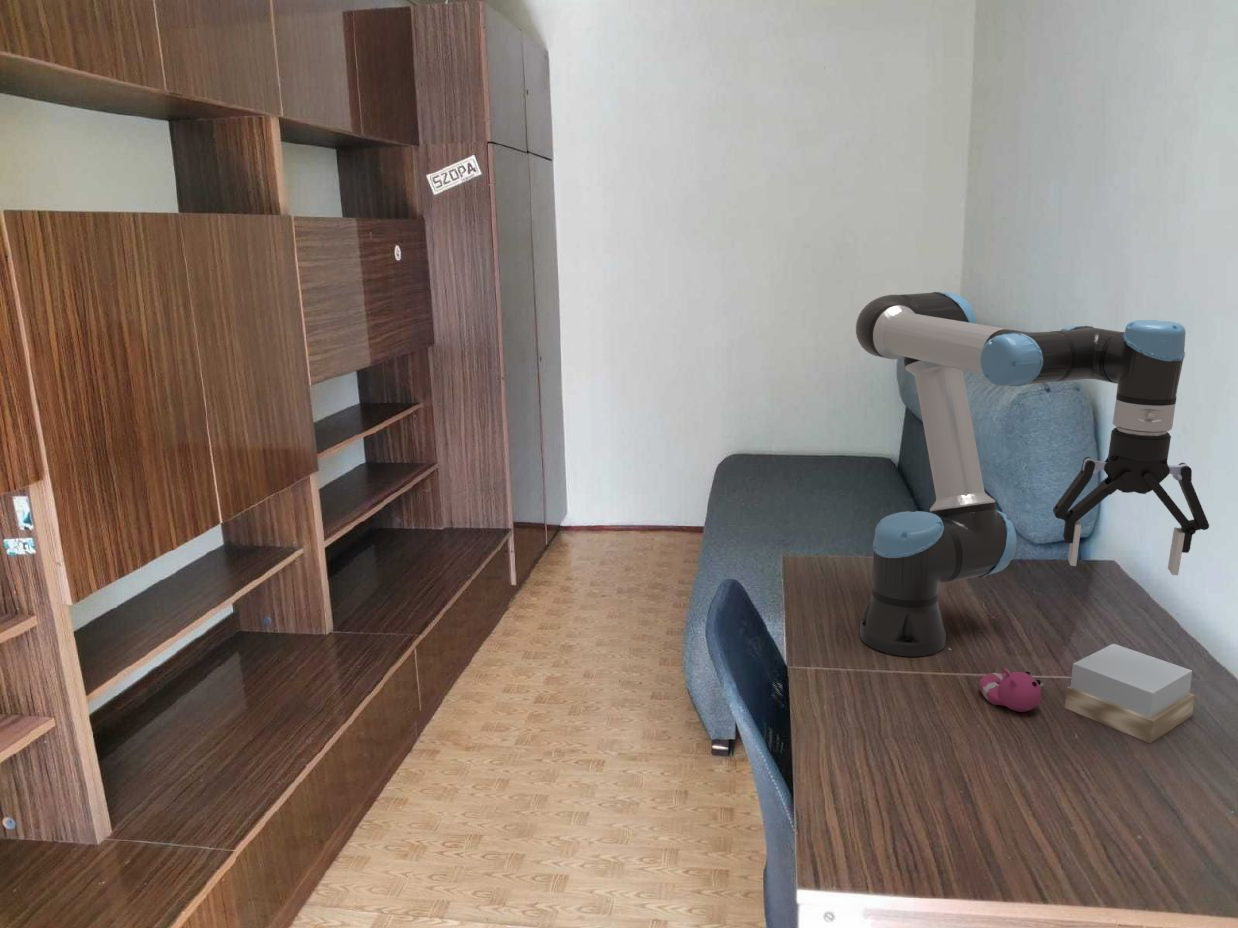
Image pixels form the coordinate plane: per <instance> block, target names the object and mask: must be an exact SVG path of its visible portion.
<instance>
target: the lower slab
mask: <svg viewBox="0 0 1238 928" xmlns="http://www.w3.org/2000/svg"><path fill="white" fill-rule="evenodd" d="M1070 686H1071V684H1070V685H1069V686H1067V687H1066V689H1065V690H1066V691H1065V692H1066V693H1065V701H1064V709H1066V710H1068V711H1072V712H1074V713H1076V714H1079V715H1081V716H1082V717H1085V718H1088V719H1091V720H1093V721H1096V722H1098V723H1100V724H1103V725H1105V726H1108V727H1110V728H1112V729H1115V730H1118V731H1119V732H1122V733H1125V734H1126V735H1130V736H1132V737H1134V738H1136V739H1139V740H1141V741H1143V742H1144V741H1145V742H1146V743H1149V744H1152V743H1153V742H1155V741H1156V740H1157V739H1159V738H1161V737H1162V736H1164V735H1165V734H1167V733H1168V732H1170V731H1171V730H1173V729H1174V728H1176V727H1177V726H1179V725H1180V724H1183V722H1185V721H1186V720H1188V719H1190V718H1191V717H1193V713H1194V706H1195V700H1196V699H1195V697H1196V694H1194V693H1191V692H1189V695H1187V696H1186V697H1184V698H1182V699H1181V700H1179V701H1177V702H1176V703H1174V704H1173V705H1171V706H1169V707H1168V708H1166V709H1164V710H1163V711H1161V712H1159V713H1158V714H1156V715H1154V716H1153V717H1151V718H1147V717H1145V716H1142V715H1140V714H1137V713H1135V712H1132V711H1130V710H1127V709H1125V708H1122V707H1120V706H1117V705H1115V704H1112V703H1109V702H1107V701H1104V700H1102V699H1099V698H1097V697H1094V696H1092V695H1089V694H1087V693H1084V692H1082V691H1079V690H1077V689H1074V688H1072V687H1070Z"/></svg>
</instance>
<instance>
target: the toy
mask: <svg viewBox="0 0 1238 928" xmlns="http://www.w3.org/2000/svg"><path fill="white" fill-rule="evenodd" d="M1003 670H1004V673H1003V672H991V673H988V674H985V675H984V676H982V678H980V680H979V684H978V685H979V686H978V687H979V690H980V692H981V694H982V695H983V697H984V698H985V699H986V700H987V701H988V702H989V703H991V704H992V705H994V706H1004V707H1007V708H1008V710H1009V709H1010V710H1012V711H1014V712H1019V713H1022V712H1023V713H1025V712H1029V711H1031V710H1034V708H1036V707H1037V706H1038V705H1039V703H1040V701H1041V699H1042V689H1041V688H1042V687H1044V686H1045V684H1044V683H1043V682H1041V681H1042V680H1040V679H1036V678H1035V677H1033V676H1032V675H1031V672H1030V671H1028V670H1027V671H1026V672H1024V671H1013V672H1010V670H1009V669H1008V668H1007V667H1003Z"/></svg>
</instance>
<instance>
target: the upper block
mask: <svg viewBox="0 0 1238 928" xmlns="http://www.w3.org/2000/svg"><path fill="white" fill-rule="evenodd" d="M1070 677H1071V678H1070V685H1071V686H1070V685H1069V686H1070V687H1072V688H1074V689H1077V690H1079V691H1082V692H1084V693H1087V694H1089V695H1092V696H1094V697H1097V698H1099V699H1102V700H1104V701H1107V702H1109V703H1112V704H1115V705H1117V706H1120V707H1122V708H1125V709H1127V710H1130V711H1132V712H1135V713H1137V714H1140V715H1142V716H1145V717H1147V718H1151V717H1153V716H1154V715H1156V714H1158V713H1159V712H1161V711H1163V710H1164V709H1166V708H1168V707H1169V706H1171V705H1173V704H1174V703H1176V702H1177V701H1179V700H1181V699H1182V698H1184V697H1186V696H1187V695H1189V693H1191V692H1190V691H1191V684H1192V677H1193V670H1192V669H1189V668H1186V667H1184V666H1183V667H1182V666H1180V665H1177V664H1174V663H1171V662H1169V661H1166V660H1163V659H1160V658H1157V657H1154V656H1151V655H1148V654H1145V653H1143V652H1140V651H1137V650H1133V649H1130V648H1128V647H1125V646H1122V645H1120V644H1116V643H1112V644H1109V645H1108V646H1105V647H1103V648H1102V649H1099V650H1098V651H1095V652H1093V653H1092V654H1091V653H1090V655H1087V656H1086V657H1083V658H1081V659H1079V660H1077V661H1075V662H1073V663H1072V670H1071V676H1070Z"/></svg>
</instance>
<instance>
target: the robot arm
mask: <svg viewBox="0 0 1238 928" xmlns="http://www.w3.org/2000/svg"><path fill="white" fill-rule="evenodd" d="M977 320H978V319H977V316H976V313H975V310H974V309H973V307H972V305H971V304H970V302H968V301H967V299H965V298H964V297H961V295H959V294H957V293H953V292H941V291H933V292H926V293H925V292H923V293H922V292H921V293H908V294H907V293H905V294H888V295H883V296H880V297H876V298H875V299H873V300H871V301H869V303H867V304H866V305H865V306H864V308H862V310H861V311H860V313H859V314H858V316H857V319H856V323H855V335H856V340H857V342H858V343H859V344H860V347H862V349H863V350H864V351H865V352H867V353H868V354H870V355H872V356H875V357H880V358H883V359H889V360H899V359H901V358H902V359H903V364H904V369H905V370H906V371H907V372H908V373H909V374H912V375H913V376H914V379H915V384H916V391H917V395H918V396H917V397H918V401H919V406H920V412H921V413H920V414H921V419H922V423H923V424H922V425H923V429H924V437H925V442H926V447H927V453H928V459H929V464H930V465H929V466H930V469H931V470H930V471H931V476H932V480H933V486H934V493H935V499H936V500H935V502H934V503H933V504H932V506H931V507H930V508H929V512H928V511H921V510H920V511H919V510H917V511H910V510H908V511H900V512H895V513H892V514H888V515H886V516H885V517H883V518H881V519H880V520H879V522H878V523H877V524H876V527H875V529H874V539H873V542H872V549H873V557H872V558H873V561H872V577H871V578H872V579H871V580H872V583H871V597H870V600H869V603H868V605H867V607H866V609H865V611H864V613H863V616H862V619H861V622H860V628H859V637H860V639H861V641H862V642H863V643H864V644H865V645H867V646H868V647H870V648H872V649H874V650H876V651H878V652H882V653H885V654H888V655H894V656H900V657H925V656H930V655H934V654H937V653H939V652H940V651H943V649H945V646H946V636H947V633H946V628H945V626H944V622H943V619H942V615H941V614H942V613H941V611H940V606H939V589H940V584H941V583H948V582H953V581H959V580H966V579H971V578H984V577H988V575H992V574H997V573H999V572H1001V571H1003V570H1004V569H1006V568H1007V567H1008V566H1009V565H1010V562H1011V560H1012V559H1013V558H1014V556H1015V554H1016V549H1017V533H1016V529H1015V526H1014V523H1013V522H1012V520H1010V519H1009V516H1008V515H1007V514H1006V513H1004V512H1002V511H999V510H998V509H997V504H996V500H995V499H994V498H992V497H991V496H989V495H988V493H986V492H985V487H984V486H985V485H984V481H983V476H982V470H981V465H980V460H979V459H980V458H979V455H978V449H977V443H976V436H975V432H974V427H973V420H972V414H971V410H970V403H969V398H968V392H967V387H966V383H965V377H964V371H965V372H969V373H970V372H971V373H974V374H977V375H978V374H979V375H983V376H984V377H985V378H987V379H988V380H989V382H990V383H991V384H993V385H996V386H1001V387H1003V386H1006V387H1007V386H1009V387H1022V386H1025V385H1034V384H1044V383H1053V382H1067V381H1078V380H1097V381H1100V382H1101V381H1102V382H1107V383H1112V384H1116V385H1117V389H1116V396H1115V403H1114V411H1113V417H1112V425H1114V426H1115V428H1113V429H1112V430H1111V433H1110V440H1109V447H1108V455H1107V457H1106V459H1105V460H1104V461H1102V460H1095V459H1093V458H1092V457H1089V456H1086V457H1085V458H1083V460H1082V463H1081V464H1082V465H1081V468H1080V471H1079V472H1078V474H1077V475H1076V477H1074V479H1073V481H1071V484H1070V485H1068V487H1067V489H1066V490H1065V491H1064V493H1063V494H1062V496H1061V497H1060V499H1058V501H1057V503H1056V504H1055V506H1054V507H1053V509H1052V512H1053V514H1054V516H1055V518H1056V519H1060V520H1063V521H1064V526H1063V527H1064V529H1063V535H1062V537H1063V539H1064V542H1065V543H1066V544H1069V547H1068V556H1067V560H1068V563H1069V565H1070V566H1072V567H1077V560H1078V555H1079V547H1080V538H1081V531H1082V524H1081V522H1080V519H1081V518H1082V517H1084V516H1085V515H1086V514H1087V513H1089V512H1090V511H1091V510H1093V509H1094V508H1095V507H1096V506H1097V505H1098V504H1099V503H1101V502H1102V501H1103V500H1104V499H1106V498H1107V497H1109V496H1111V495H1112V494H1113V493H1115V492H1116V491H1117V490H1118V491H1120V492H1122V493H1127V494H1129V493H1130V494H1131V493H1137V494H1139V495H1140V494H1141V495H1142V494H1143V495H1147V494H1148V493H1150V492H1153V493H1154V494H1155V495H1156V496H1157V497H1158V499H1159V500H1160V501H1161V503H1162V504H1163V505H1164V506H1165V508H1166V509H1167V510H1168V512H1170V514H1171V515H1172V517H1173V518H1174V519H1175V520H1176V521H1177V522H1178V524H1179V526H1180V527H1177V526H1176V527H1174V526H1173V533H1172V539H1171V545H1170V550H1169V551H1170V552H1169V557H1168V562H1167V563H1168V565H1167V570H1168V571H1169V572H1170V574H1171V575H1172V576H1179V573H1180V572H1179V571H1180V568H1181V567H1180V565H1181V559H1182V554H1188V553H1189V552H1190V550H1191V545H1192V540H1193V535H1194V534H1196V532H1197V531H1200V530H1202V531H1206V530H1208V529H1209V528H1210V523H1209V522H1208V518H1207V516H1206V514H1205V511H1204V509H1203V506H1202V504H1201V502H1200V498H1199V497H1198V495H1197V493H1196V490H1195V488H1194V485H1193V483H1192V480H1193V479H1192V477H1193V476H1192V475H1193V473H1192V471H1193V469H1192V468H1191V467H1190V465H1188V464H1187V463H1185V462H1180V463H1178V464H1175V465H1173V464H1172V465H1171V464H1170V465H1168V459H1169V452H1170V446H1171V439H1172V436H1171V435H1170V433H1169V431H1171V430H1172V429H1173V425H1174V417H1175V411H1176V409H1175V408H1176V402H1177V393H1178V389H1179V388H1178V387H1179V383H1180V377H1181V373H1182V367H1183V362H1184V358H1185V355H1186V353H1185V345H1186V344H1185V343H1186V328H1185V327H1184V326H1183V325H1182V324H1181V323H1179V322H1176V321H1169V320H1168V321H1167V320H1154V319H1153V320H1152V319H1151V320H1150V319H1149V320H1148V319H1146V320H1143V319H1142V320H1141V319H1140V320H1133V321H1130V322H1128V323H1127V324H1126V325H1125V330H1124V331H1117V330H1112V329H1111V330H1110V329H1105V328H1098V327H1094V326H1091V325H1068V326H1064V327H1063V328H1062V329H1061V330H1054V331H1052V330H1051V331H1038V332H1036V331H1035V332H1032V331H1031V332H1030V331H1022V330H1016V329H1009V328H1005V327H997V326H992V325H987V324H980V323H978V321H977ZM1100 471H1104V472H1105V474H1106V477H1105V478H1103V479H1102V480H1101V482H1100V483H1099V485H1097V487H1095V488H1093V490H1091V491H1090V492H1089V493H1088V494H1086V496H1084V497H1083V498H1082V499H1081V500H1079V501H1078V502H1077V503H1076V504H1075V505H1074V503H1075V501H1077V499H1078V498H1079V496H1080V495H1081V493H1083V491H1084V489H1085V488H1086V486H1088V484H1089V482H1090V481H1091V479H1092V477H1093V476H1096V475H1098V473H1099V472H1100ZM1169 475H1172V477H1173V479H1175V481H1178V484H1179V487H1180V490H1181V492H1182V494H1183V496H1184V499H1185V501H1186V503H1187V507H1188V509H1189V510H1190V513H1191V515H1192V518H1193V519H1190V520H1189V519H1188V518H1187V516H1185V514H1184V513H1183V512H1182V510H1181V509H1180V507H1179V506H1178V505H1177V504H1176V503H1175V501H1174V500H1173V499H1172V498H1171V496H1170V495H1169V494H1168V493H1167V491H1166V490H1165V488H1164V487H1163V486H1162V484H1161V483H1162V482H1163V481H1164V480H1165V479H1166V478H1167V477H1168V476H1169ZM1073 505H1074V506H1073Z"/></svg>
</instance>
